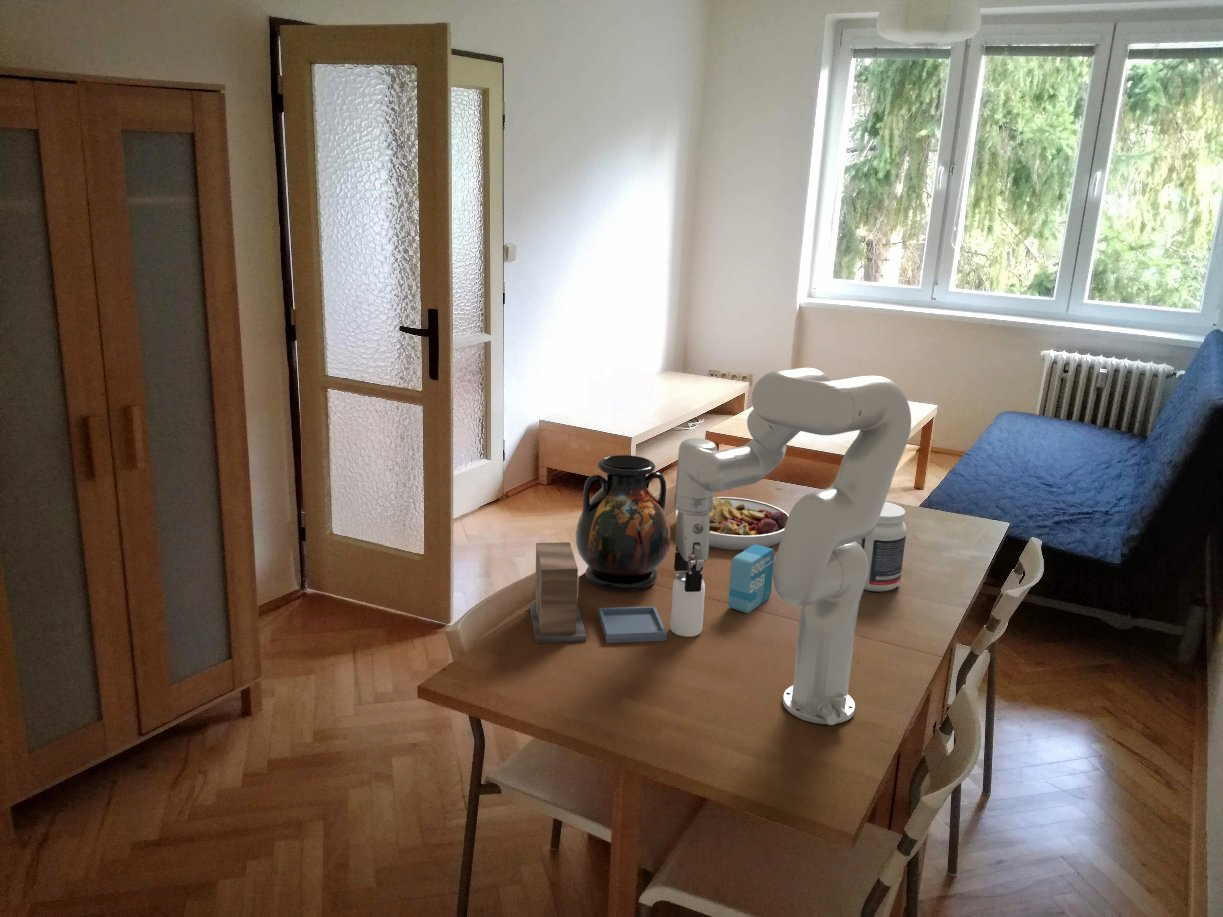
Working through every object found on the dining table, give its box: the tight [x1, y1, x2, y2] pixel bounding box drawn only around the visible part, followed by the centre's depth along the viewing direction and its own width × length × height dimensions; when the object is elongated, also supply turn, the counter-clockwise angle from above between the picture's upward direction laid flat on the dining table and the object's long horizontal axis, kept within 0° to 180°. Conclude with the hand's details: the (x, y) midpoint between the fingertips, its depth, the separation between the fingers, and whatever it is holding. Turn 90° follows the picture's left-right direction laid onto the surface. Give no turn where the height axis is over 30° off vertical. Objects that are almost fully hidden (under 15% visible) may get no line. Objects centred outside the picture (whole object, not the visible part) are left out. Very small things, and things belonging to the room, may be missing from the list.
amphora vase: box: [575, 454, 672, 592], centre depth 222 cm, size 22×22×28 cm
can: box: [670, 571, 706, 638], centre depth 200 cm, size 6×6×12 cm
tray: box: [598, 605, 668, 644], centre depth 202 cm, size 12×12×2 cm
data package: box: [727, 544, 775, 614], centre depth 214 cm, size 12×4×12 cm, turn 145°
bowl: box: [675, 496, 789, 551], centre depth 257 cm, size 30×30×8 cm
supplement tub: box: [856, 501, 908, 592], centre depth 227 cm, size 13×13×18 cm
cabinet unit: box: [529, 541, 587, 644], centre depth 201 cm, size 16×10×15 cm, turn 9°
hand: (686, 580), depth 200 cm, fingers open, 9 cm apart
